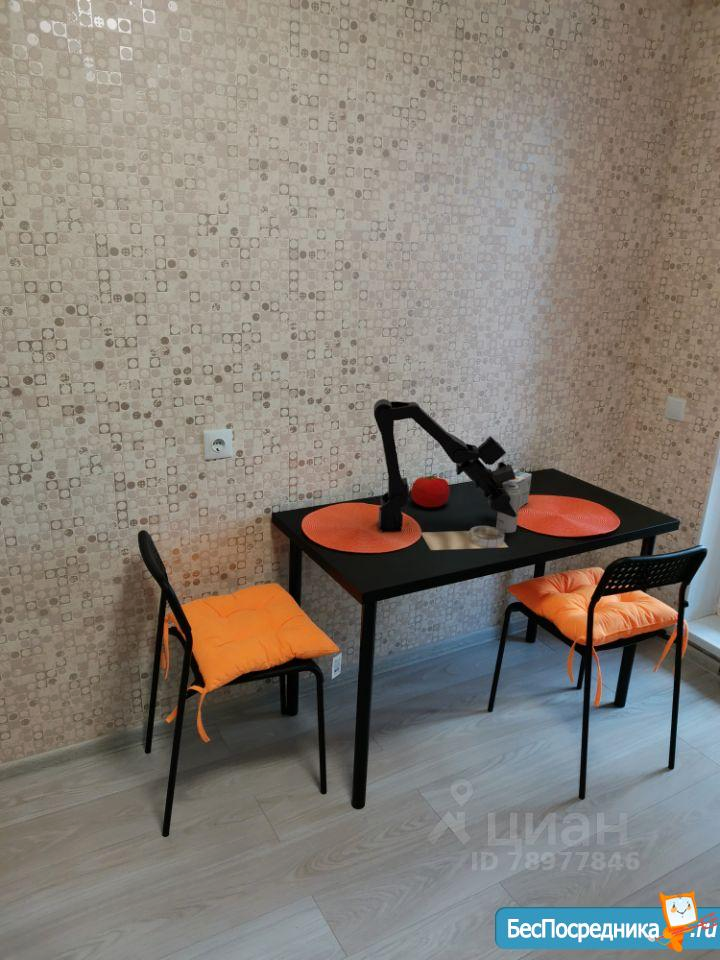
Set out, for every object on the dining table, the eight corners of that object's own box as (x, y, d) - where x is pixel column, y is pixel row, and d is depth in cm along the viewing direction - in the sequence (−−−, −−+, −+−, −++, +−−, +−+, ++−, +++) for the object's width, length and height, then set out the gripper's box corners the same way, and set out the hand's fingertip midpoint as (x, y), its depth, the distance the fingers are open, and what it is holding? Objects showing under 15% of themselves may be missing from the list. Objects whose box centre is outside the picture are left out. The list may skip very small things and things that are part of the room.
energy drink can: (493, 528, 227) (498, 482, 221) (512, 528, 227) (517, 482, 222) (498, 536, 221) (503, 489, 216) (518, 536, 222) (523, 489, 216)
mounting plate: (430, 553, 207) (430, 550, 207) (420, 536, 219) (420, 532, 218) (508, 550, 211) (508, 547, 211) (494, 533, 222) (494, 530, 222)
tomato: (452, 511, 238) (454, 482, 234) (413, 512, 236) (415, 482, 233) (443, 498, 248) (446, 470, 245) (407, 499, 247) (408, 470, 243)
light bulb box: (510, 498, 251) (514, 468, 247) (528, 503, 247) (532, 473, 243) (495, 507, 243) (498, 476, 240) (513, 512, 239) (517, 481, 236)
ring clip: (475, 548, 209) (476, 540, 209) (465, 534, 218) (465, 526, 218) (508, 547, 211) (509, 539, 210) (496, 533, 220) (497, 525, 219)
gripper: (506, 467, 207) (540, 505, 211) (495, 447, 225) (527, 482, 228) (475, 492, 210) (510, 529, 214) (467, 470, 227) (499, 505, 231)
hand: (512, 510), depth 222 cm, fingers open, 9 cm apart
